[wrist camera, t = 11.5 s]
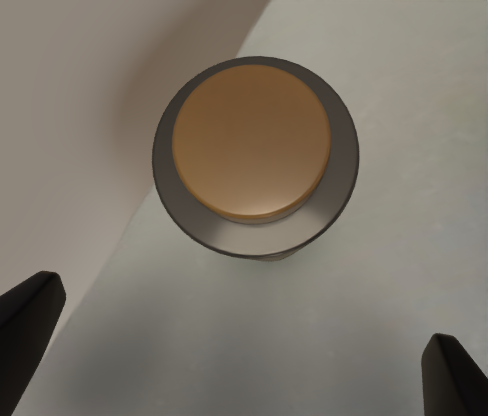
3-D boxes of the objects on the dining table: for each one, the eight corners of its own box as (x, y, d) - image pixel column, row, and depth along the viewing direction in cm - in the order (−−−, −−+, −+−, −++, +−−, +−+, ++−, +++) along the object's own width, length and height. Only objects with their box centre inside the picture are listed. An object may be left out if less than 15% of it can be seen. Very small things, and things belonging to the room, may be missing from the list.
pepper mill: (288, 277, 20) (307, 301, 7) (209, 237, 20) (93, 193, 8) (326, 196, 20) (410, 82, 7) (247, 160, 21) (199, -5, 8)
